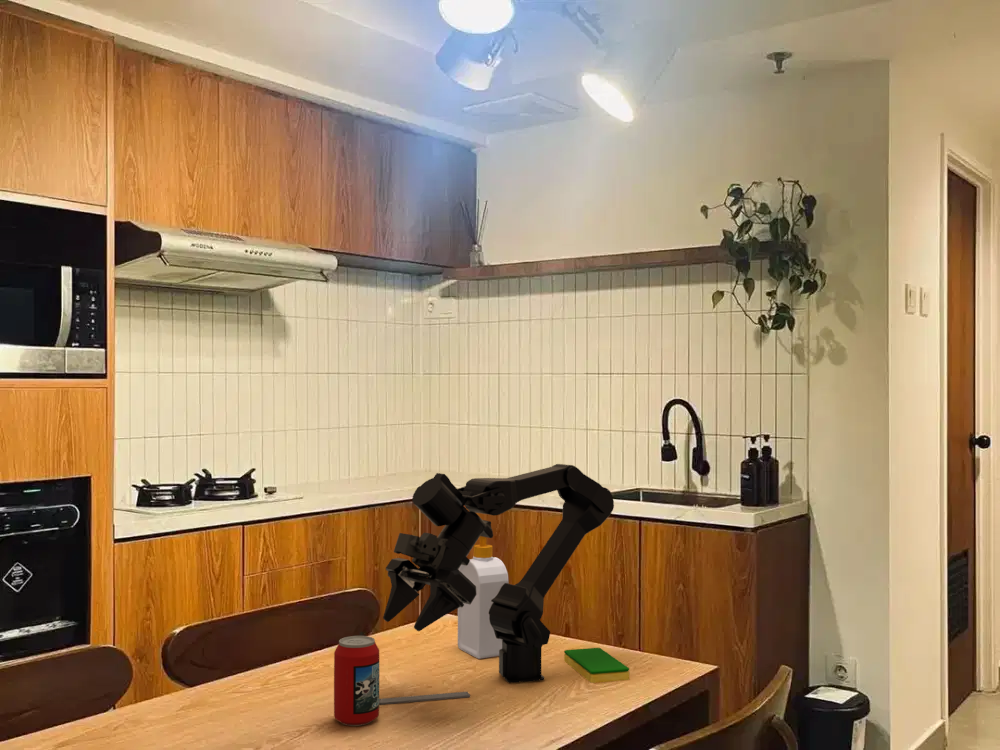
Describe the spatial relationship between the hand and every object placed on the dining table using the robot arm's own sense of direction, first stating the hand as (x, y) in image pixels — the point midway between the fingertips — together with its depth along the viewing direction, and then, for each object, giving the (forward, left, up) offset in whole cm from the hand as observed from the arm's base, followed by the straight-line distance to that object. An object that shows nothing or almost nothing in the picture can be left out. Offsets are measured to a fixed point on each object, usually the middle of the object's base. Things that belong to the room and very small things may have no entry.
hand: (400, 624), depth 150 cm
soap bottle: (-20, -28, -13) cm, 37 cm away
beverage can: (+7, +3, -13) cm, 15 cm away
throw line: (-2, -4, -13) cm, 14 cm away
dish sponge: (-37, -12, -14) cm, 41 cm away
